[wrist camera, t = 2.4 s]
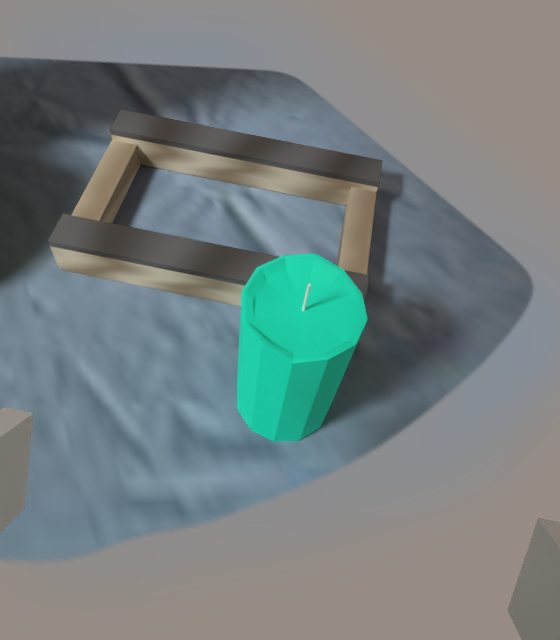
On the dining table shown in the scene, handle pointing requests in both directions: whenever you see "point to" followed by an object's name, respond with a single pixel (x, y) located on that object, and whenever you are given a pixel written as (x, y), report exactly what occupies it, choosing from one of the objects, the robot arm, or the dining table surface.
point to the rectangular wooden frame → (215, 163)
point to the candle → (295, 343)
